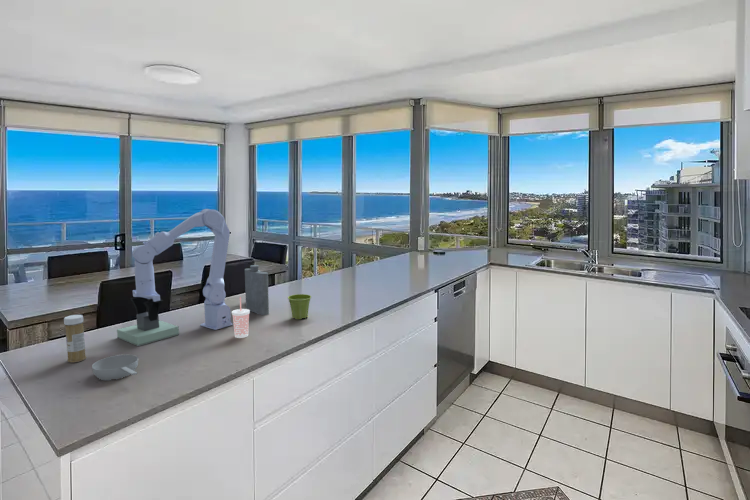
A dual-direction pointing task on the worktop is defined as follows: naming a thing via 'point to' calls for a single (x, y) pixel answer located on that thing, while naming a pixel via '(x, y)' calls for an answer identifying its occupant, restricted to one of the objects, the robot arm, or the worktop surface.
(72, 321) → the sprinkles bottle
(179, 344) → the worktop surface
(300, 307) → the plant pot
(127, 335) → the socket block
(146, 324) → the plug
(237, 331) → the beverage cup
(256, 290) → the hip flask
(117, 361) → the small pan
